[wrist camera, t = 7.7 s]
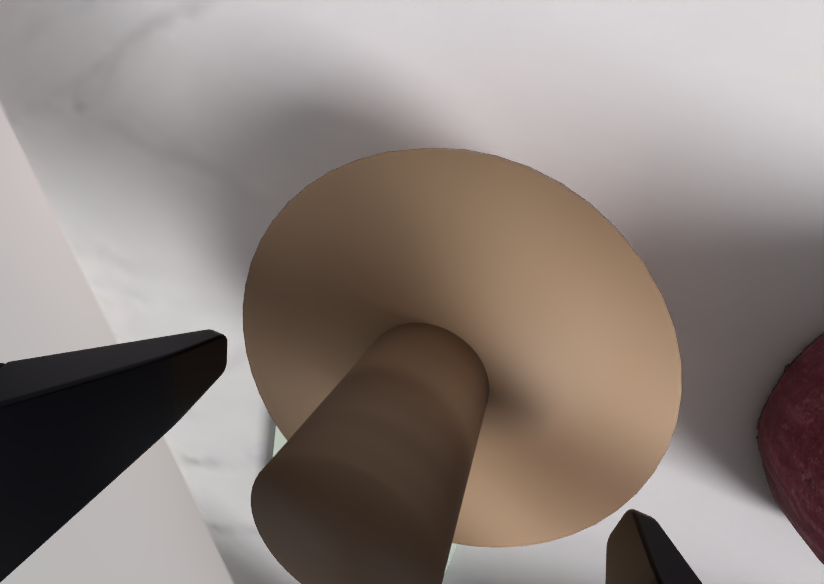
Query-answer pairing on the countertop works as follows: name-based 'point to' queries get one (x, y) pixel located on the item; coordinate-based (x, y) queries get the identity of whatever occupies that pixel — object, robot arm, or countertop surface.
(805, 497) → the vegetable
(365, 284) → the lid
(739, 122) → the countertop surface
